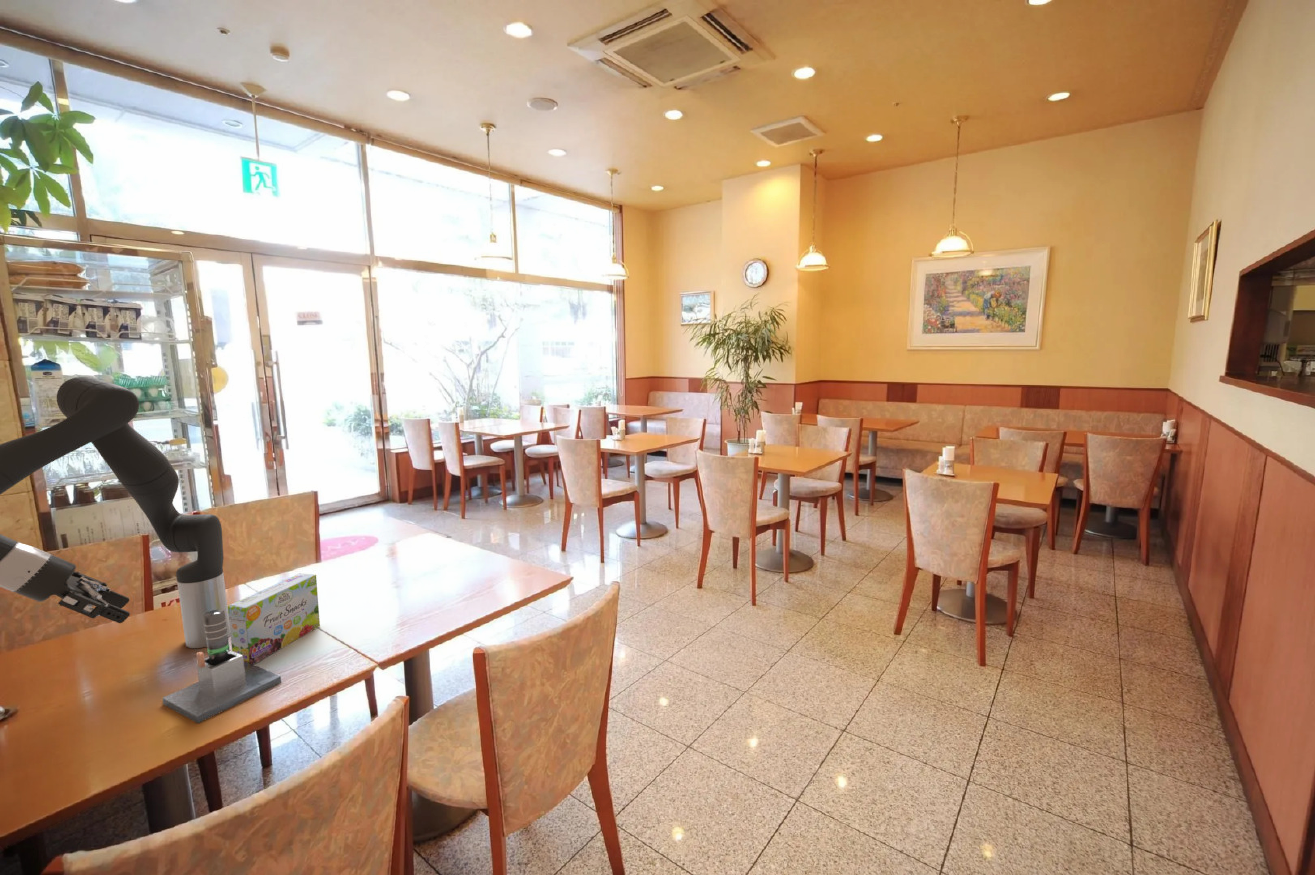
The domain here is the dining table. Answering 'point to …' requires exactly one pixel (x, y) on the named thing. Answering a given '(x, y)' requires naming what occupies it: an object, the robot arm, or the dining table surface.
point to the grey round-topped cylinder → (216, 637)
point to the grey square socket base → (220, 687)
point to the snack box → (274, 617)
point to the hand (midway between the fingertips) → (126, 610)
